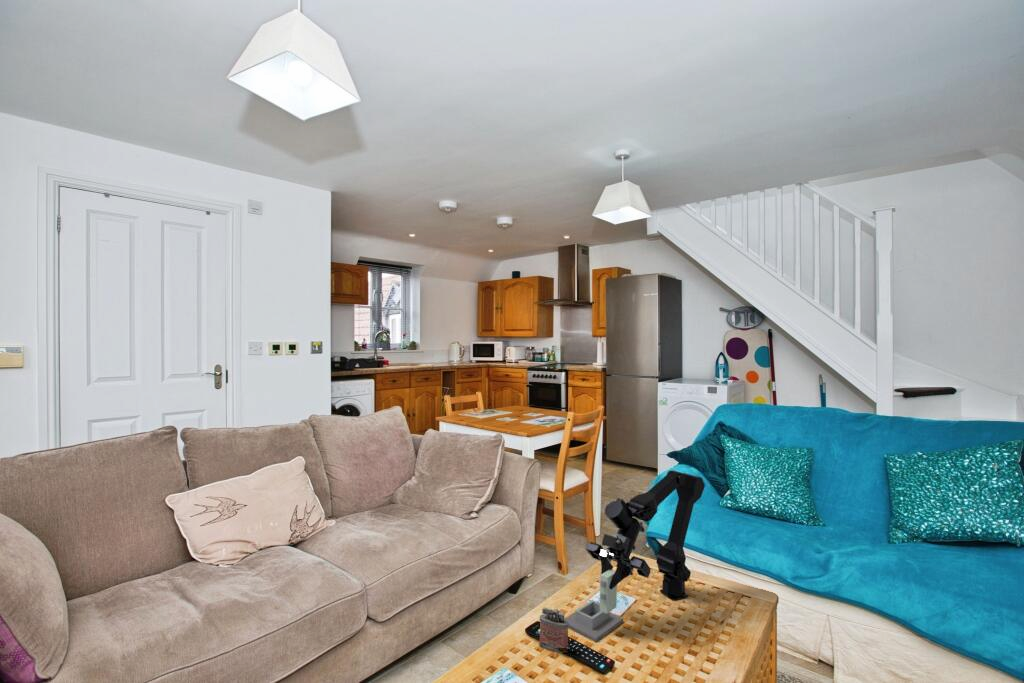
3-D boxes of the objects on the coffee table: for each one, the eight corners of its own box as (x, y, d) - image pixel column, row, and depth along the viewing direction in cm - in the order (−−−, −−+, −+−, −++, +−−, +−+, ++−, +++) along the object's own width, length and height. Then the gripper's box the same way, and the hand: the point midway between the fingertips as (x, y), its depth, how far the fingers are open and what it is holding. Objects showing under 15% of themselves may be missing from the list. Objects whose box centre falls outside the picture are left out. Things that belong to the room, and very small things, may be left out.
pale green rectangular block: (616, 607, 140) (617, 571, 140) (605, 614, 136) (606, 578, 136) (609, 603, 142) (609, 569, 142) (598, 611, 138) (599, 575, 138)
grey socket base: (623, 622, 144) (623, 608, 144) (595, 642, 134) (595, 627, 134) (589, 606, 152) (589, 593, 152) (560, 624, 142) (561, 610, 142)
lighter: (570, 648, 131) (570, 610, 131) (566, 655, 128) (566, 616, 128) (541, 640, 134) (542, 603, 134) (537, 647, 131) (537, 609, 131)
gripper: (589, 514, 149) (567, 562, 141) (646, 531, 136) (625, 585, 128) (603, 533, 155) (582, 580, 146) (658, 551, 142) (639, 604, 134)
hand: (605, 587), depth 138 cm, fingers closed on pale green rectangular block, 2 cm apart
